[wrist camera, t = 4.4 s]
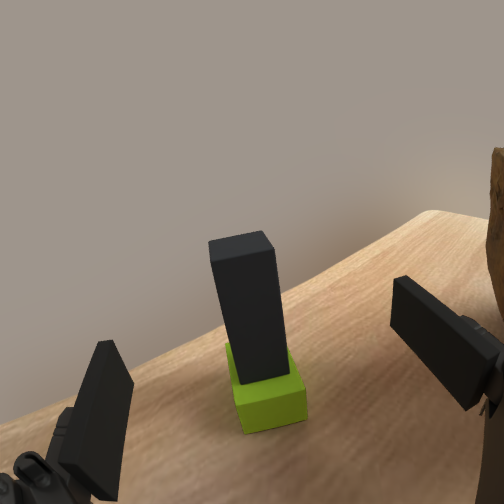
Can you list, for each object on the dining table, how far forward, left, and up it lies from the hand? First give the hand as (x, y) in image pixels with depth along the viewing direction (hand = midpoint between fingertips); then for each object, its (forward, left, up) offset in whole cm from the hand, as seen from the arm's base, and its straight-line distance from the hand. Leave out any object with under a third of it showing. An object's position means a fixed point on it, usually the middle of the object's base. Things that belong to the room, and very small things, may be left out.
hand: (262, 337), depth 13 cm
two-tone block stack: (-3, +2, -8) cm, 9 cm away
